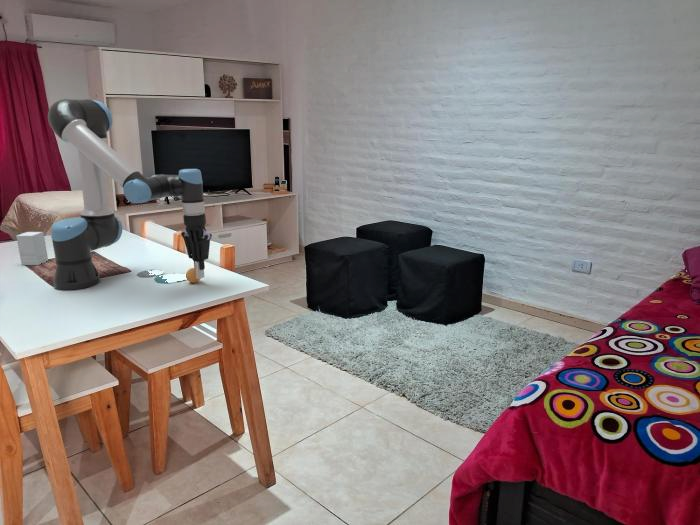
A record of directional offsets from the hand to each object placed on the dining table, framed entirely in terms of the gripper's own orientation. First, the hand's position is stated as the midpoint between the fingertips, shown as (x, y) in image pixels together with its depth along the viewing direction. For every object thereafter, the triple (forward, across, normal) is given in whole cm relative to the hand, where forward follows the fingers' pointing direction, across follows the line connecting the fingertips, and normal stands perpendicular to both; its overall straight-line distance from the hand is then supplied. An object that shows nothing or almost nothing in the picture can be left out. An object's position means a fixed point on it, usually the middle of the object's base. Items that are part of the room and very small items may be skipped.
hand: (200, 277), depth 195 cm
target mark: (+2, +15, 0) cm, 15 cm away
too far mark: (+2, +27, 0) cm, 27 cm away
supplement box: (+1, +82, +13) cm, 83 cm away
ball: (0, +3, 0) cm, 3 cm away
